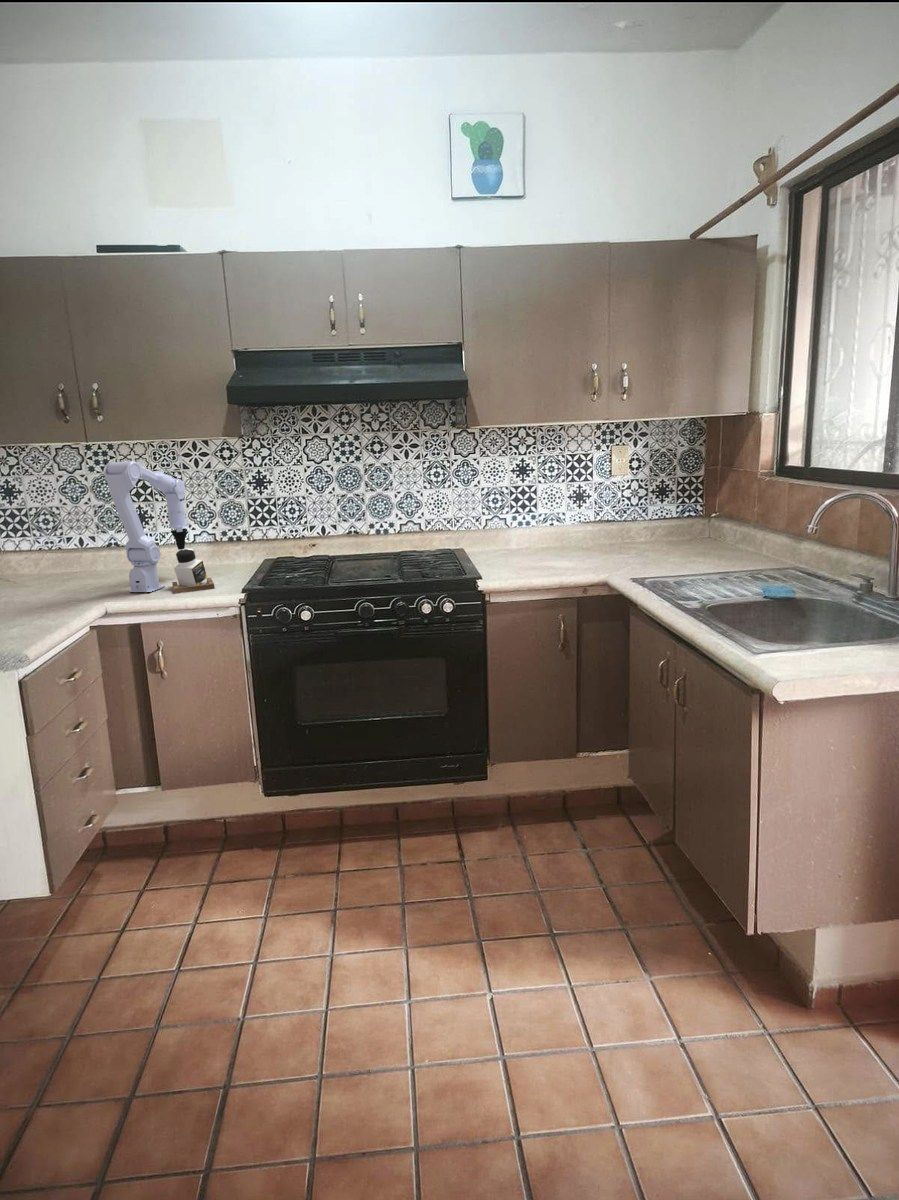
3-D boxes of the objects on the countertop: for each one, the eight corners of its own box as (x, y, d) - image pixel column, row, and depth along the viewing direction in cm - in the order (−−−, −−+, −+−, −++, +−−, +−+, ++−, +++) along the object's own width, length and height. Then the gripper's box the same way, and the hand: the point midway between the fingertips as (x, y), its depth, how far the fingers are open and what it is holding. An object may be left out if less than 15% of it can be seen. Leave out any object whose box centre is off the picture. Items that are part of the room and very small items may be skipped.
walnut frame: (172, 586, 269) (172, 582, 268) (211, 581, 273) (210, 577, 273) (174, 593, 257) (173, 589, 257) (214, 588, 262) (214, 584, 262)
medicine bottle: (197, 586, 266) (187, 555, 261) (179, 586, 268) (169, 554, 263) (207, 577, 272) (198, 546, 267) (190, 577, 274) (181, 546, 269)
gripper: (189, 513, 273) (194, 550, 276) (186, 509, 286) (191, 545, 289) (168, 515, 270) (173, 553, 274) (166, 510, 283) (171, 547, 287)
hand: (181, 549), depth 281 cm, fingers closed
